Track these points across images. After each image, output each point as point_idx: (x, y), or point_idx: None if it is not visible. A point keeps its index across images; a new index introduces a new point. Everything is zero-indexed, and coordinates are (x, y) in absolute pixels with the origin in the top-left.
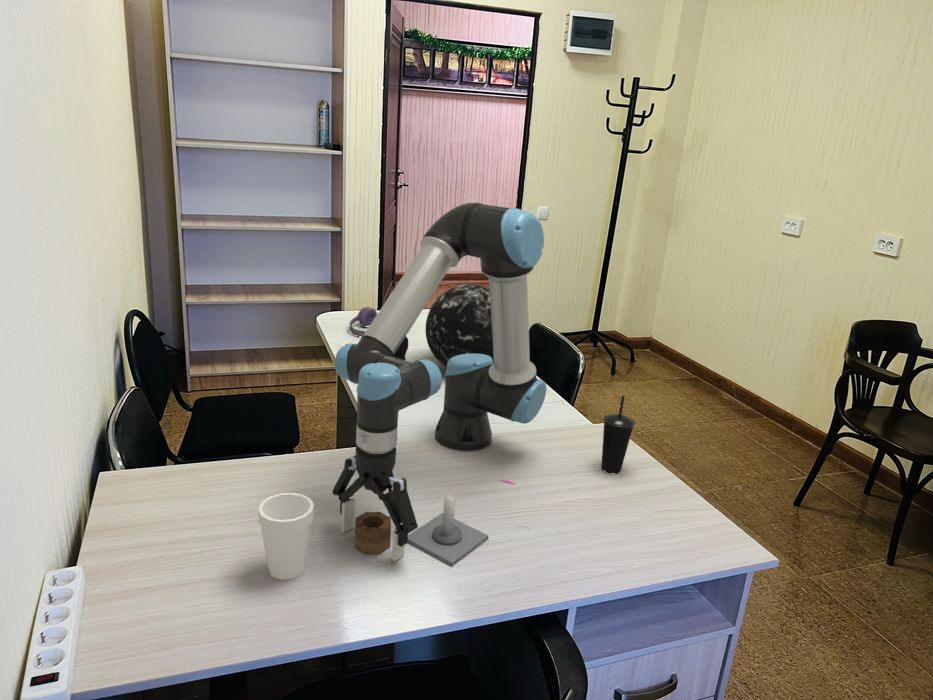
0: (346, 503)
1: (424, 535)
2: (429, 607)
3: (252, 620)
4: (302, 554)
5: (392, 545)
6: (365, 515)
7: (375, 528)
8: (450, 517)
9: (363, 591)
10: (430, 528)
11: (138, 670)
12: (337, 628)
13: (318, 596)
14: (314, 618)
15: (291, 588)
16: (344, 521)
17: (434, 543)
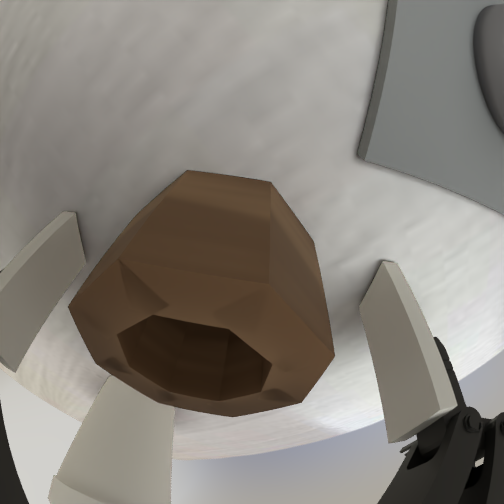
0: (8, 365)
1: (452, 97)
2: (469, 358)
3: (210, 441)
4: (170, 450)
5: (375, 367)
6: (100, 335)
7: (255, 398)
8: None
9: (328, 395)
10: (446, 19)
11: (188, 457)
12: (324, 431)
13: (251, 418)
14: (280, 433)
15: (195, 416)
16: (58, 298)
17: (501, 148)
